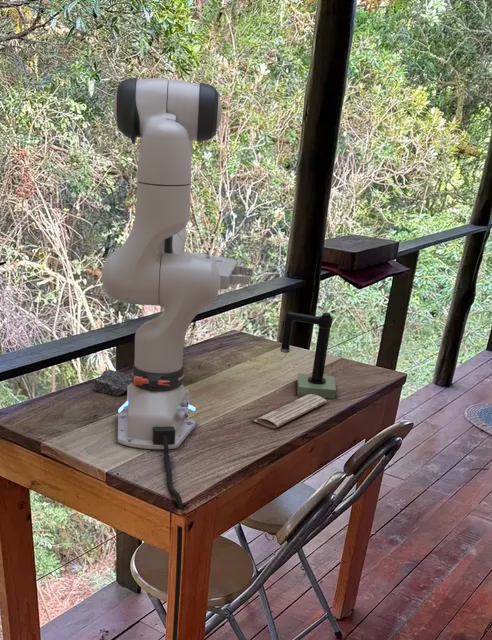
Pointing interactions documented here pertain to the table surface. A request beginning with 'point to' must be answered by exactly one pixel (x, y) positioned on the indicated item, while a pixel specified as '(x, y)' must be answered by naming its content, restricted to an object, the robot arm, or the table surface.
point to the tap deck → (316, 386)
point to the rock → (113, 382)
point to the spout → (322, 321)
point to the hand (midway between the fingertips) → (250, 276)
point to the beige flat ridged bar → (291, 411)
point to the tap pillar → (320, 356)
